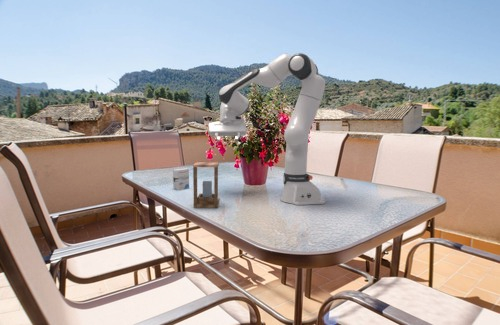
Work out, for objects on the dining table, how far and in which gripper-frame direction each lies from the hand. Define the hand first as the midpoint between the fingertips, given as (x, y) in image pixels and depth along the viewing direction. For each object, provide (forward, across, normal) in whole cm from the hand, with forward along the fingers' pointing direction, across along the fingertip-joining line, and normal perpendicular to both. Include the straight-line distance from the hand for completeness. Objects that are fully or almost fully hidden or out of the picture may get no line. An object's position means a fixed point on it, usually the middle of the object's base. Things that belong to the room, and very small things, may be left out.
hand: (227, 140), depth 155 cm
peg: (+30, -10, +10) cm, 34 cm away
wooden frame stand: (+31, -10, +12) cm, 34 cm away
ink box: (+6, -29, +35) cm, 46 cm away
